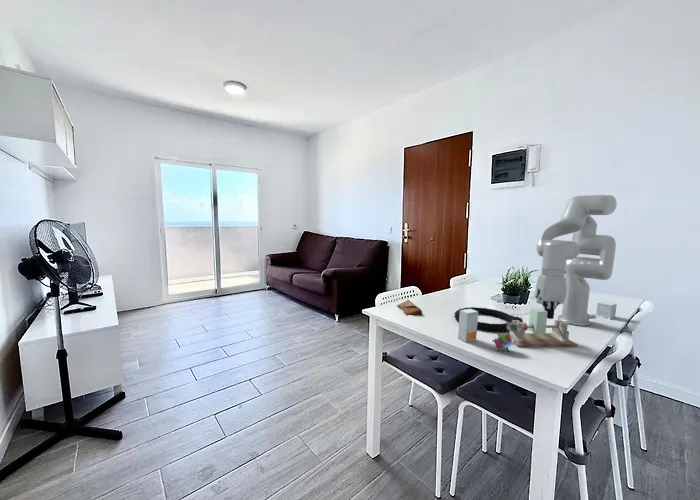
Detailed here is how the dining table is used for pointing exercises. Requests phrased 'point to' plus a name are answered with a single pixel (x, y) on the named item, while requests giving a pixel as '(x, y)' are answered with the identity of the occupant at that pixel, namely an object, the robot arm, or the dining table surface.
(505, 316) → the cable lock
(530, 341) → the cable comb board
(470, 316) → the skincare box
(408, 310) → the sunglasses case
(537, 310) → the sleeve
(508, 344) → the geometric puzzle
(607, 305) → the skincare box
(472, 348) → the dining table surface
